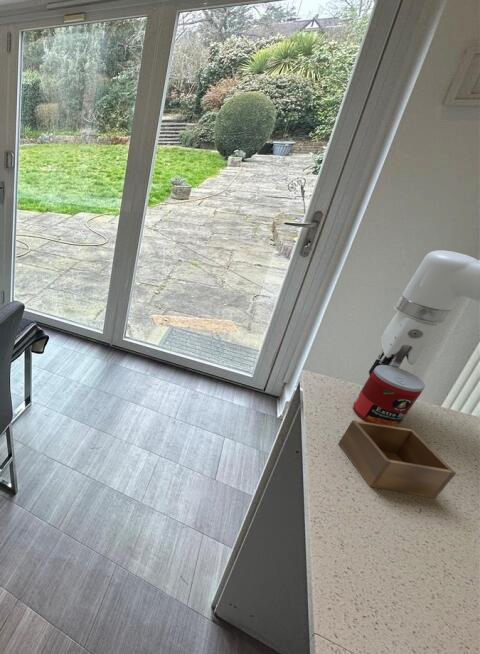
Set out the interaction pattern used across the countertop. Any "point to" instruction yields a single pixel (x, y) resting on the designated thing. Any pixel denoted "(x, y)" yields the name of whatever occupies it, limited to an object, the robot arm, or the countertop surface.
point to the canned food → (388, 395)
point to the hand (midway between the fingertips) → (377, 377)
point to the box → (395, 459)
